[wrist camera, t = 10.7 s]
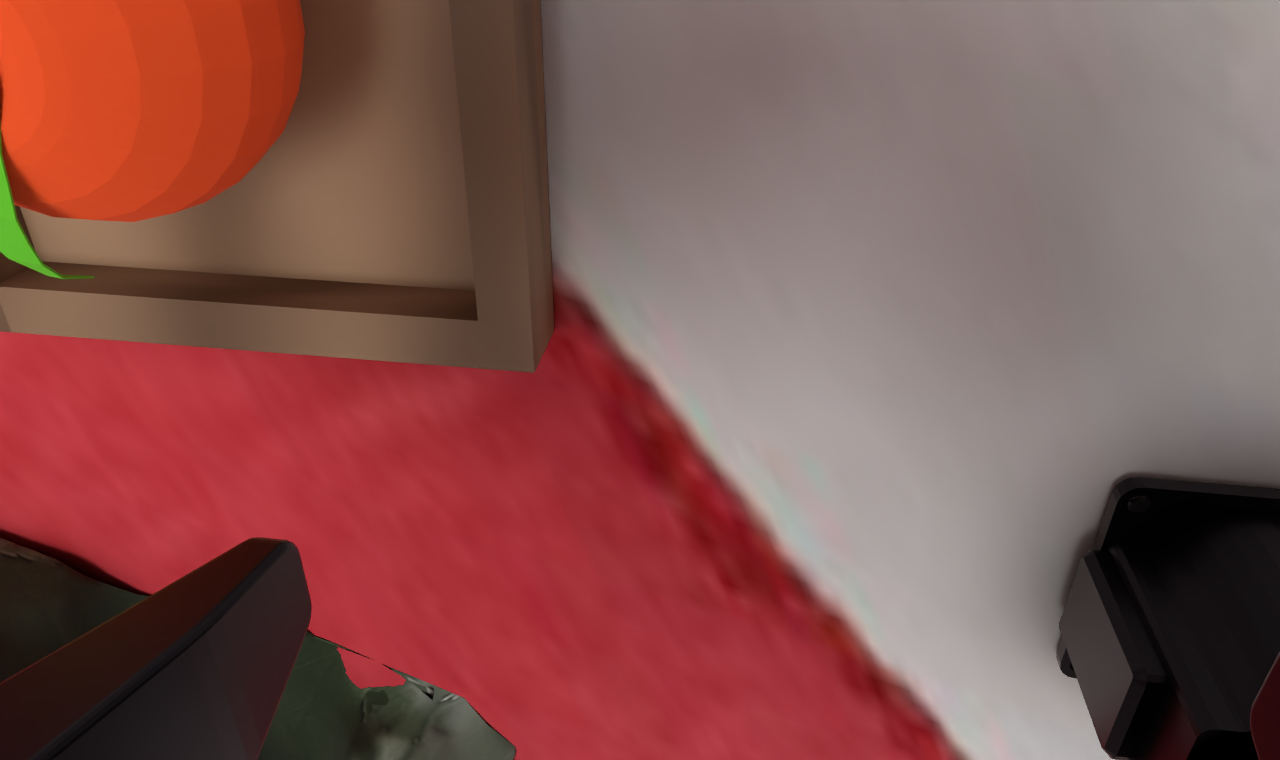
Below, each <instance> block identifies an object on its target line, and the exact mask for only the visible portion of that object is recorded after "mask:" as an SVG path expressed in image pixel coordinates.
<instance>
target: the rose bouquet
mask: <svg viewBox="0 0 1280 760" xmlns="http://www.w3.org/2000/svg"><path fill="white" fill-rule="evenodd" d="M147 597H149V596H145V595H138V594H134V593H131V592H129V591H126V590H123V589H120V588H117V587H114V586H111V585H108V584H105V583H102V582H99V581H96V580H94V579H91V578H89V577H87V576H85V575H83V574H81V573H79V572H77V571H76V570H74V569H73V568H71V567H69V566H67V565H65V564H63V563H61V562H60V561H58V560H56V559H54V558H52V557H49V556H46V555H44V554H41V553H39V552H36V551H34V550H32V549H29V548H26V547H23V546H20V545H17V544H15V543H13V542H10V541H8V540H5V539H3V538H0V683H1V682H3V681H4V680H6V679H8V678H10V677H11V676H13V675H15V674H17V673H18V672H20V671H22V670H23V669H25V668H27V667H29V666H30V665H32V664H34V663H35V662H37V661H39V660H41V659H42V658H44V657H46V656H48V655H49V654H51V653H53V652H54V651H56V650H58V649H60V648H61V647H63V646H65V645H67V644H68V643H70V642H72V641H73V640H75V639H77V638H79V637H80V636H82V635H84V634H85V633H87V632H89V631H91V630H92V629H94V628H96V627H98V626H99V625H101V624H103V623H104V622H106V621H108V620H110V619H111V618H113V617H115V616H116V615H118V614H120V613H122V612H123V611H125V610H127V609H129V608H130V607H132V606H134V605H135V604H137V603H139V602H141V601H142V600H144V599H146V598H147ZM336 646H338V647H340V648H343V649H346V650H348V651H351V652H354V651H352V650H349V649H347V648H345V647H342V646H340V645H338V644H335V643H333V642H330V641H328V640H325V639H322V638H319V637H316V636H313V635H312V634H311V633H309V632H308V631H307V632H306V635H305V637H304V640H303V642H302V645H301V648H300V650H299V653H298V655H297V658H296V660H295V663H294V666H293V668H292V671H291V673H290V676H289V679H288V681H287V684H286V686H285V689H284V691H283V694H282V697H281V699H280V702H279V704H278V707H277V710H276V712H275V715H274V717H273V720H272V722H271V725H270V728H269V730H268V733H267V735H266V738H265V740H264V743H263V746H262V748H261V751H260V753H259V755H258V758H257V760H514V756H515V746H514V745H513V744H511V743H510V742H509V741H508V740H506V739H505V738H504V737H502V736H501V735H500V734H499V733H497V732H496V731H495V730H494V729H492V728H491V727H490V726H488V725H487V724H486V723H485V721H484V720H483V719H482V718H481V717H480V716H479V715H478V713H477V712H476V711H475V710H474V709H473V708H472V707H471V706H470V704H469V703H468V702H467V701H466V700H465V699H464V698H463V697H460V696H458V695H456V694H453V693H451V692H449V691H446V690H444V689H441V688H439V687H437V686H434V685H432V684H430V683H427V682H425V681H422V680H420V679H418V678H415V677H413V676H410V675H408V674H405V673H403V672H400V671H398V670H395V669H393V668H390V667H388V666H386V665H384V664H383V665H384V666H386V667H388V668H389V669H391V670H393V671H394V672H396V673H398V674H399V675H401V676H402V677H403V678H404V679H406V681H405V683H404V685H398V686H395V687H390V686H384V687H374V688H373V687H368V688H364V689H360V688H358V687H357V686H356V685H355V684H353V683H352V682H351V680H350V679H349V677H348V676H347V674H346V673H345V672H346V669H345V667H344V664H343V661H342V659H341V655H340V653H339V652H338V650H337V648H338V647H336ZM354 653H356V652H354ZM356 654H359V653H356ZM359 655H361V654H359ZM362 656H363V655H362ZM364 657H366V656H364ZM367 658H368V657H367ZM372 660H373V659H372Z"/></svg>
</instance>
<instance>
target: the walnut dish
mask: <svg viewBox="0 0 1280 760" xmlns="http://www.w3.org/2000/svg"><path fill="white" fill-rule="evenodd" d="M300 4H301V10H302V17H303V23H304V29H305V38H304V50H303V62H302V74H301V80H300V86H299V92H298V95H297V97H296V100H295V103H294V105H293V108H292V110H291V113H290V116H289V118H288V121H287V124H286V126H285V129H284V132H283V133H282V134H281V135H280V136H279V138H278V139H277V140H276V141H275V143H274V144H273V145H272V146H271V148H270V149H269V150H268V151H267V152H266V154H265V155H264V156H263V157H262V159H261V160H260V161H259V162H258V163H257V164H256V165H255V166H254V167H253V168H252V169H251V170H250V171H249V172H248V173H247V174H246V175H245V176H244V177H243V178H242V179H241V180H240V181H239V182H238V183H236V184H235V185H233V186H231V187H230V188H228V189H226V190H225V191H223V192H221V193H220V194H218V195H216V196H215V197H213V198H211V199H210V200H208V201H206V202H205V203H202V204H199V205H196V206H193V207H190V208H187V209H185V210H182V211H179V212H176V213H173V214H168V215H163V216H159V217H154V218H150V219H145V220H140V221H136V222H121V221H101V220H86V219H72V218H58V217H51V216H48V215H45V214H42V213H39V212H35V211H32V210H29V209H26V208H23V207H20V206H17V205H15V210H16V214H17V219H18V221H19V223H20V225H21V227H22V228H23V230H24V232H25V234H26V236H27V238H28V240H29V242H30V244H31V245H32V247H33V248H34V250H35V251H36V253H37V254H38V256H39V258H40V259H41V261H42V262H43V263H44V264H45V265H47V266H48V267H50V268H51V269H53V270H55V271H56V272H58V273H59V274H67V275H86V276H94V278H86V279H60V278H55V277H51V276H47V275H44V274H42V273H40V272H38V271H35V270H33V269H31V268H29V267H26V266H24V265H22V264H20V263H17V262H15V261H13V260H10V259H8V258H7V257H6V256H5V255H4V254H2V253H1V252H0V331H4V332H16V333H29V334H42V335H55V336H68V337H81V338H94V339H107V340H120V341H133V342H146V343H158V344H171V345H184V346H197V347H210V348H223V349H236V350H249V351H262V352H275V353H287V354H300V355H313V356H326V357H339V358H352V359H365V360H378V361H391V362H404V363H417V364H429V365H442V366H455V367H468V368H481V369H494V370H507V371H520V372H533V373H534V372H535V370H536V368H537V366H538V364H539V362H540V360H541V358H542V355H543V353H544V351H545V349H546V347H547V345H548V343H549V341H550V338H551V336H552V334H553V332H554V330H555V329H554V306H553V283H552V259H551V236H550V213H549V190H548V167H547V144H546V120H545V97H544V74H543V51H542V28H541V4H540V0H300Z"/></svg>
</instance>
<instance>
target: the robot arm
mask: <svg viewBox="0 0 1280 760" xmlns="http://www.w3.org/2000/svg"><path fill="white" fill-rule="evenodd" d="M1136 496H1144V497H1143V498H1142V499H1141V500H1139V501H1137V502H1131V503H1130V502H1129V501H1130V500H1131V499H1132V498H1134V497H1136ZM310 618H311V599H310V595H309V591H308V586H307V582H306V578H305V574H304V570H303V566H302V561H301V557H300V553H299V551H298V548H297V547H296V546H295V544H294V543H293V542H290V541H288V540H280V539H270V538H260V537H258V538H251V539H248V540H246V541H244V542H242V543H240V544H239V545H237V546H235V547H234V548H232V549H230V550H228V551H227V552H225V553H223V554H222V555H220V556H218V557H216V558H215V559H213V560H211V561H209V562H208V563H206V564H204V565H203V566H201V567H199V568H197V569H196V570H194V571H192V572H191V573H189V574H187V575H185V576H184V577H182V578H180V579H178V580H177V581H175V582H173V583H172V584H170V585H168V586H166V587H165V588H163V589H161V590H160V591H158V592H156V593H154V594H153V595H151V596H149V597H147V598H146V599H144V600H142V601H141V602H139V603H137V604H135V605H134V606H132V607H130V608H129V609H127V610H125V611H123V612H122V613H120V614H118V615H116V616H115V617H113V618H111V619H110V620H108V621H106V622H104V623H103V624H101V625H99V626H98V627H96V628H94V629H92V630H91V631H89V632H87V633H85V634H84V635H82V636H80V637H79V638H77V639H75V640H73V641H72V642H70V643H68V644H67V645H65V646H63V647H61V648H60V649H58V650H56V651H54V652H53V653H51V654H49V655H48V656H46V657H44V658H42V659H41V660H39V661H37V662H35V663H34V664H32V665H30V666H29V667H27V668H25V669H23V670H22V671H20V672H18V673H17V674H15V675H13V676H11V677H10V678H8V679H6V680H4V681H3V682H1V683H0V760H257V758H258V755H259V753H260V751H261V748H262V746H263V743H264V740H265V738H266V735H267V733H268V730H269V728H270V725H271V722H272V720H273V717H274V715H275V712H276V710H277V707H278V704H279V702H280V699H281V697H282V694H283V691H284V689H285V686H286V684H287V681H288V679H289V676H290V673H291V671H292V668H293V666H294V663H295V660H296V658H297V655H298V653H299V650H300V648H301V645H302V642H303V640H304V637H305V635H306V632H307V629H308V626H309V623H310ZM1059 629H1060V631H1061V634H1062V638H1061V641H1060V644H1059V647H1058V650H1057V660H1058V663H1059V666H1060V669H1061V671H1062V672H1063V673H1064V674H1065V675H1067V676H1068V677H1072V678H1077V679H1078V682H1079V685H1080V688H1081V691H1082V693H1083V696H1084V699H1085V702H1086V705H1087V707H1088V710H1089V713H1090V716H1091V719H1092V722H1093V724H1094V727H1095V730H1096V733H1097V736H1098V738H1099V741H1100V744H1101V747H1102V748H1103V750H1104V751H1105V752H1106V753H1107V754H1108V755H1109V757H1110V758H1112V759H1117V760H1280V489H1271V488H1259V487H1247V486H1235V485H1223V484H1211V483H1199V482H1187V481H1176V480H1164V479H1152V478H1140V477H1139V478H1130V479H1127V480H1124V481H1122V482H1121V483H1119V484H1118V485H1117V486H1116V487H1115V488H1114V490H1113V492H1112V494H1111V497H1110V500H1109V503H1108V505H1107V508H1106V511H1105V514H1104V517H1103V520H1102V523H1101V526H1100V529H1099V531H1098V534H1097V537H1096V540H1095V543H1094V546H1093V549H1092V550H1089V551H1088V552H1087V553H1086V554H1085V555H1084V556H1083V557H1082V558H1081V561H1080V564H1079V566H1078V569H1077V572H1076V575H1075V578H1074V581H1073V584H1072V587H1071V590H1070V593H1069V596H1068V599H1067V602H1066V605H1065V608H1064V611H1063V614H1062V616H1061V619H1060V622H1059Z"/></svg>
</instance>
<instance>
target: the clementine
mask: <svg viewBox="0 0 1280 760" xmlns="http://www.w3.org/2000/svg"><path fill="white" fill-rule="evenodd" d="M304 38H305V29H304V23H303V17H302V10H301V4H300V0H0V252H1V253H2V254H4V255H5V256H6V257H7V258H8V259H10V260H13V261H15V262H17V263H20V264H22V265H24V266H26V267H29V268H31V269H33V270H35V271H38V272H40V273H42V274H44V275H47V276H51V277H55V278H60V279H86V278H94V276H86V275H67V274H59V273H58V272H56V271H55V270H53V269H51V268H50V267H48V266H47V265H45V264H44V263H43V262H42V261H41V259H40V258H39V256H38V254H37V253H36V251H35V250H34V248H33V247H32V245H31V244H30V242H29V240H28V238H27V236H26V234H25V232H24V230H23V228H22V227H21V225H20V223H19V221H18V219H17V214H16V210H15V205H17V206H20V207H23V208H26V209H29V210H32V211H35V212H39V213H42V214H45V215H48V216H51V217H58V218H72V219H86V220H101V221H121V222H136V221H140V220H145V219H150V218H154V217H159V216H163V215H168V214H173V213H176V212H179V211H182V210H185V209H187V208H190V207H193V206H196V205H199V204H202V203H205V202H206V201H208V200H210V199H211V198H213V197H215V196H216V195H218V194H220V193H221V192H223V191H225V190H226V189H228V188H230V187H231V186H233V185H235V184H236V183H238V182H239V181H240V180H241V179H242V178H243V177H244V176H245V175H246V174H247V173H248V172H249V171H250V170H251V169H252V168H253V167H254V166H255V165H256V164H257V163H258V162H259V161H260V160H261V159H262V157H263V156H264V155H265V154H266V152H267V151H268V150H269V149H270V148H271V146H272V145H273V144H274V143H275V141H276V140H277V139H278V138H279V136H280V135H281V134H282V133H283V132H284V129H285V126H286V124H287V121H288V118H289V116H290V113H291V110H292V108H293V105H294V103H295V100H296V97H297V95H298V92H299V86H300V80H301V74H302V62H303V50H304Z"/></svg>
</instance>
